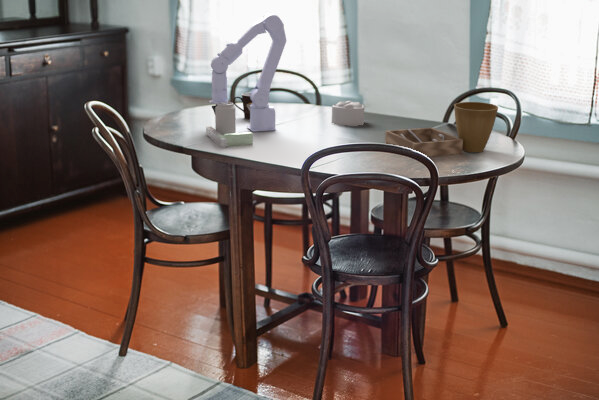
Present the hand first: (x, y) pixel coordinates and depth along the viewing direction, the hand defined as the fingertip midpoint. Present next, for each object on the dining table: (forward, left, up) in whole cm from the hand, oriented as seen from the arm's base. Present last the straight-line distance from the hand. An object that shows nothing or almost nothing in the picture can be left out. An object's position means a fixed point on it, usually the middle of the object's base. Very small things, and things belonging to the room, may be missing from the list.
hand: (220, 124), depth 292 cm
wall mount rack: (-60, +49, -3) cm, 78 cm away
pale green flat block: (0, +17, -2) cm, 17 cm away
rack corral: (-60, +51, -2) cm, 79 cm away
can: (0, +8, -3) cm, 8 cm away
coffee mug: (-18, -20, -3) cm, 27 cm away
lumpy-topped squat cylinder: (-53, +2, -3) cm, 53 cm away
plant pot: (-76, +58, -3) cm, 95 cm away
